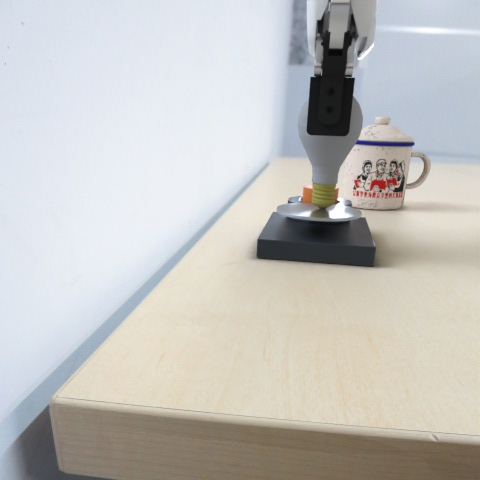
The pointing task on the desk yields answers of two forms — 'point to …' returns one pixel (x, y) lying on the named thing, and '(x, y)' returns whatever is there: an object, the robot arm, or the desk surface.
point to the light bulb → (328, 154)
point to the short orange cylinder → (308, 192)
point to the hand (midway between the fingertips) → (326, 133)
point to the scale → (317, 239)
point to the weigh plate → (319, 212)
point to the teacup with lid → (380, 167)
